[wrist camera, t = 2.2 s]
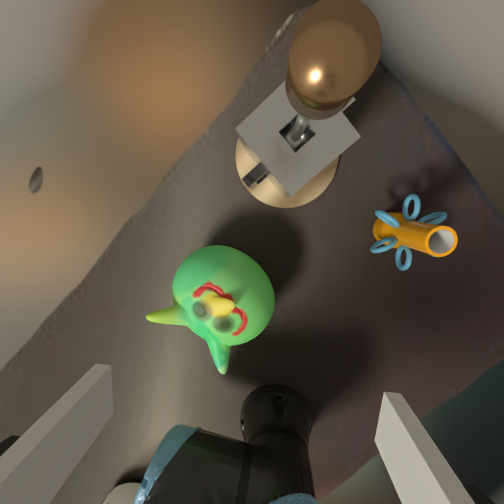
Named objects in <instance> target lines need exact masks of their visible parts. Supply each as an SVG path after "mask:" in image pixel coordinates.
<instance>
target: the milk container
mask: <svg viewBox="0 0 504 504" xmlns="http://www.w3.org/2000/svg"><path fill="white" fill-rule="evenodd" d="M141 483H142V482H127V483H123V484H120V485H118V486H117V487H115V488H114V489H112V490H111V491H110V492H109V493H108V494H107V496H106V497H105V498H104V500H103V501H102V503H101V504H134V500H135V497H136V494H137V491H138V489H139V487H140V485H141Z"/></svg>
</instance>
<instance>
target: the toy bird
mask: <svg viewBox="0 0 504 504" xmlns="http://www.w3.org/2000/svg"><path fill="white" fill-rule="evenodd" d="M172 296H173V302H174V305H175V306H172V307H169V308H165V309H162V310H158V311H155V312H152V313H150V314H148V315H147V316H146V318H147V320H149V321H151V322H156V323H163V324H174V325H185V326H188V327H189V328H190V329H191V330H192V331H193V332H194V333H196V334H197V335H199V336H200V337H202V338H204V339H205V340H206V341H207V343H208V346H209V349H210V351H211V354H212V357H213V360H214V362H215V365H216V367H217V369H218V371H219V372H220V373H221V374H225V373H226V372H227V369H228V363H229V354H230V348H231V346H232V345H239V344H243V343H246V342H248V341H250V340H252V339H254V338H255V337H256V336H258V335H259V334H260V333H261V332H262V331H263V330H264V329H265V327H266V326H267V325H268V323H269V321H270V319H271V317H272V314H273V311H274V306H275V295H274V290H273V287H272V284H271V282H270V280H269V278H268V276H267V274H266V273H265V272H264V270H263V269H262V268H261V267H260V265H259V264H258V263H257V262H256V261H254V260H253V259H252V258H251V257H249V256H248V255H246V254H245V253H243V252H241V251H239V250H237V249H234V248H231V247H228V246H222V245H213V246H207V247H204V248H201V249H199V250H197V251H195V252H193V253H192V254H191V255H189V256H188V257H187V258H186V259H185V260H184V261H183V262H182V264H181V265H180V266H179V268H178V270H177V272H176V274H175V277H174V280H173V285H172Z"/></svg>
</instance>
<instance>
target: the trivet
mask: <svg viewBox="0 0 504 504" xmlns="http://www.w3.org/2000/svg"><path fill="white" fill-rule="evenodd" d="M338 161H339V156H338V157H337V158H335V159H334V160H333V161H332V162H331V163H330V164H328V165H327V166H326V167H325V168H324V169H323V170H321V171H320V172H319V173H318V174H317V175H316V176H314V177H313V178H312V179H311V180H310V181H309V182H307V183H306V184H305V185H304V186H303V187H302V188H300V189H299V190H298V191H297V192H296V193H295V194H293V195H292V196H291V197H283V196H282V195H281V194H280V193H279V192H278V190H277V189H276V188H275V187H274V186H273V184H272V183H271V182H270V181H269V180H268V178H266V179H264V180H263V181H262V182H261V183H260V184H259V185H258V186H257V187H255V188H254V189H253V190H252V189H250V188H248V186H247V185H246V184H245V183H244V182H243V180H242V178H243V177H244V176H245V175H246V174H248V173H249V172H250V171H251V170H252V169H253V168H254V167H255V166H256V164H255V163H254V162H253V160H252V159H251V158H250V157H249V156H248V154H247V153H246V151H245V149H244V147H243V145H242V142H241V140H240V138H238V142H237V146H236V165H237V169H238V173H239V176H240V178H241V180H242V182H243V184H244V186H245V187H246V188H247V190H248V191H249V192H250V193H251V194H252V195H253V196H254V197H256V198H257V199H258V200H260V201H261V202H263V203H265V204H268V205H270V206H274V207H279V208H292V207H297V206H301V205H304V204H306V203H308V202H310V201H312V200H314V199H315V198H316V197H318V196H319V195H320V194H321V193H322V192H323V191H324V190H325V189H326V188H327V187H328V185H329V184H330V182H331V181H332V179H333V177H334V174H335V172H336V169H337V166H338Z"/></svg>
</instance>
